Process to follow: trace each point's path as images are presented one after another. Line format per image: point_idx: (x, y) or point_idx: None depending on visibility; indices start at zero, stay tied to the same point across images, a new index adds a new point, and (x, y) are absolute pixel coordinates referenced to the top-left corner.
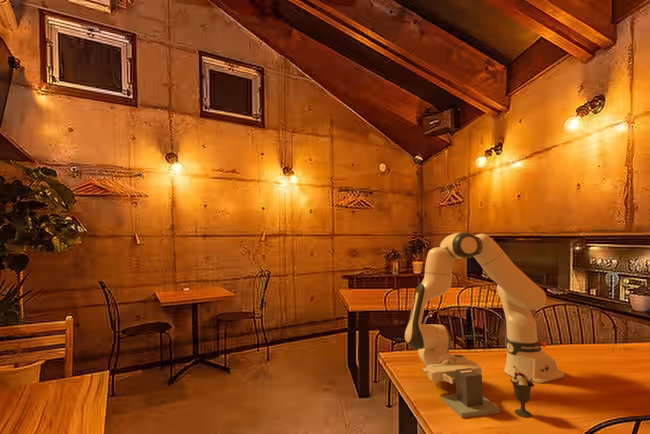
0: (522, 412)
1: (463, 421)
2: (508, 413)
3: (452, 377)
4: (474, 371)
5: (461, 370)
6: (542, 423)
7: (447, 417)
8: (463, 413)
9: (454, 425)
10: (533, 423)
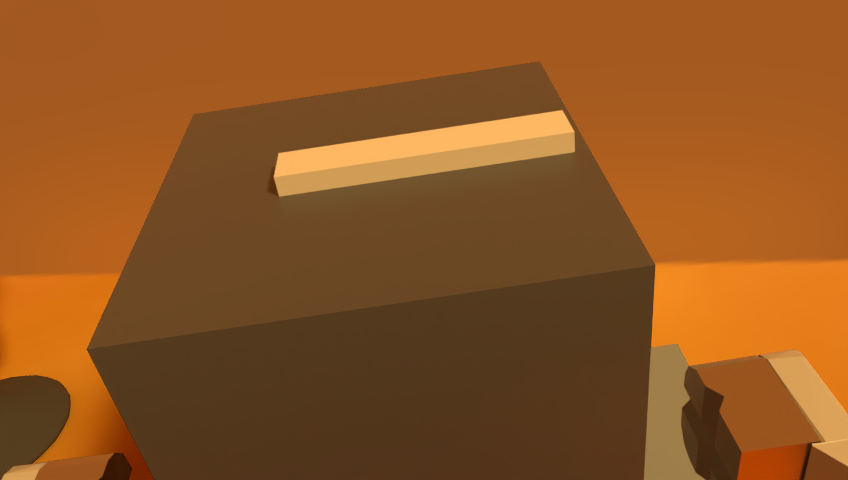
0: (15, 394)
1: (671, 337)
2: (122, 443)
3: (757, 418)
4: (206, 192)
5: (498, 224)
6: (20, 317)
7: (843, 395)
8: (651, 352)
9: (778, 291)
10: (84, 317)
